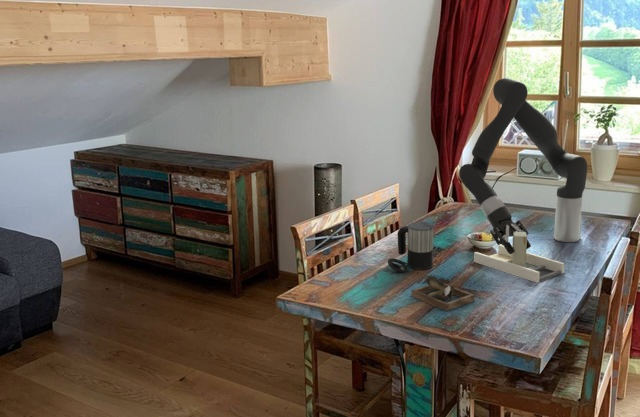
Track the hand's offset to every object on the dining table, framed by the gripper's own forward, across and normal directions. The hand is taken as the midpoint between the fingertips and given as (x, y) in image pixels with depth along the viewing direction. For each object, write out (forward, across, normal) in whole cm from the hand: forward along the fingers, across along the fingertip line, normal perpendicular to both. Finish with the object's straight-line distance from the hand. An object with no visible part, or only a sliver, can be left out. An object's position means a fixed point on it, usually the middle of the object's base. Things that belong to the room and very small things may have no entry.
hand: (520, 250), depth 232 cm
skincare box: (+4, 0, +5) cm, 7 cm away
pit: (+11, 0, -2) cm, 11 cm away
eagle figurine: (+6, -41, +4) cm, 41 cm away
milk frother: (-12, -28, +22) cm, 38 cm away
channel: (+4, 0, +5) cm, 7 cm away
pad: (-3, 0, +12) cm, 12 cm away
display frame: (+6, -40, +3) cm, 41 cm away
